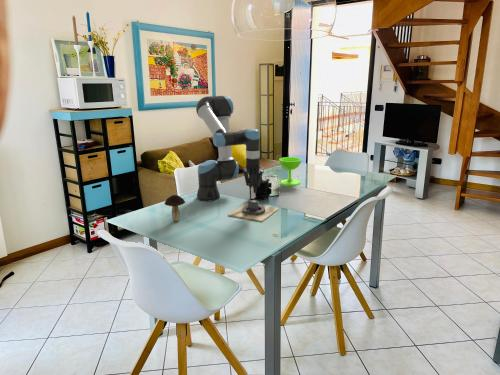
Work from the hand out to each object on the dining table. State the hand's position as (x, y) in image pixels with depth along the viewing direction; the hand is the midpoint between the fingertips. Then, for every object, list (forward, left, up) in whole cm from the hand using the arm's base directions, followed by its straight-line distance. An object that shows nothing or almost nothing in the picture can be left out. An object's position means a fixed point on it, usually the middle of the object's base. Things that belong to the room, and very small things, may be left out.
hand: (253, 197), depth 205 cm
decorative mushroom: (-32, -31, -9) cm, 45 cm away
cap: (0, -1, -8) cm, 8 cm away
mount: (0, 0, -9) cm, 9 cm away
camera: (-8, +25, -9) cm, 27 cm away
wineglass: (-5, +67, -9) cm, 67 cm away
